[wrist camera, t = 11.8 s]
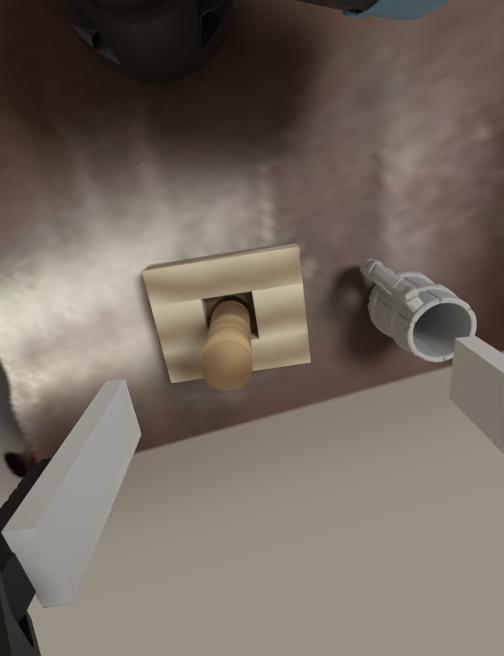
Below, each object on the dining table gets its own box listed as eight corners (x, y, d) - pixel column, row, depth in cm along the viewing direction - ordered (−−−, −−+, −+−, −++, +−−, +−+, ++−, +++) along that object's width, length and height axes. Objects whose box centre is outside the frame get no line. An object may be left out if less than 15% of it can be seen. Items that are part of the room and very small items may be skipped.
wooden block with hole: (150, 265, 39) (141, 271, 36) (293, 242, 39) (298, 246, 35) (176, 369, 44) (171, 383, 40) (305, 349, 43) (310, 362, 40)
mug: (393, 343, 43) (446, 395, 32) (327, 280, 40) (360, 312, 29) (443, 299, 42) (518, 337, 30) (378, 228, 38) (434, 242, 27)
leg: (210, 297, 39) (194, 347, 26) (246, 292, 39) (249, 339, 26) (216, 331, 41) (205, 395, 28) (252, 326, 41) (257, 387, 28)
